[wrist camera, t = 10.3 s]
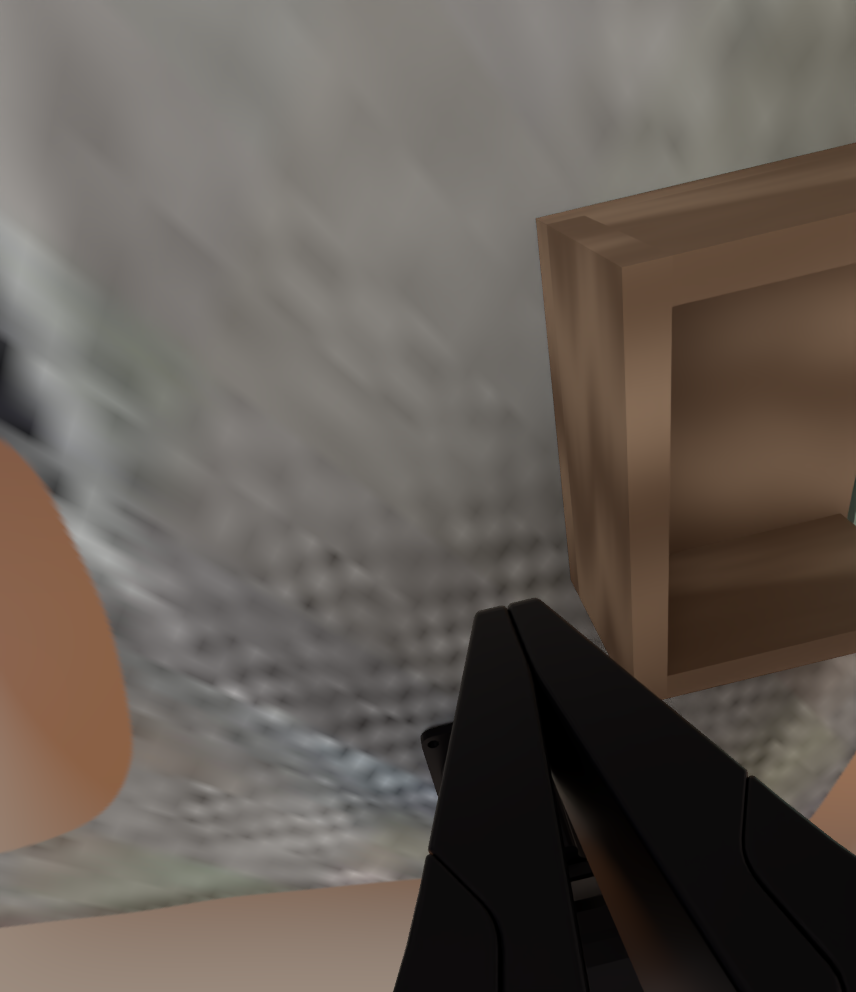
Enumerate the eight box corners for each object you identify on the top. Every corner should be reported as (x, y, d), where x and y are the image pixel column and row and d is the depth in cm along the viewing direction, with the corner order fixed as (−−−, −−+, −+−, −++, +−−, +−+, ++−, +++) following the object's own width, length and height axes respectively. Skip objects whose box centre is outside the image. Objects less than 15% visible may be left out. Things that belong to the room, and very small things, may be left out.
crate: (826, 518, 24) (956, 628, 19) (570, 579, 24) (634, 706, 19) (894, 133, 17) (1128, 147, 12) (535, 218, 17) (621, 267, 12)
